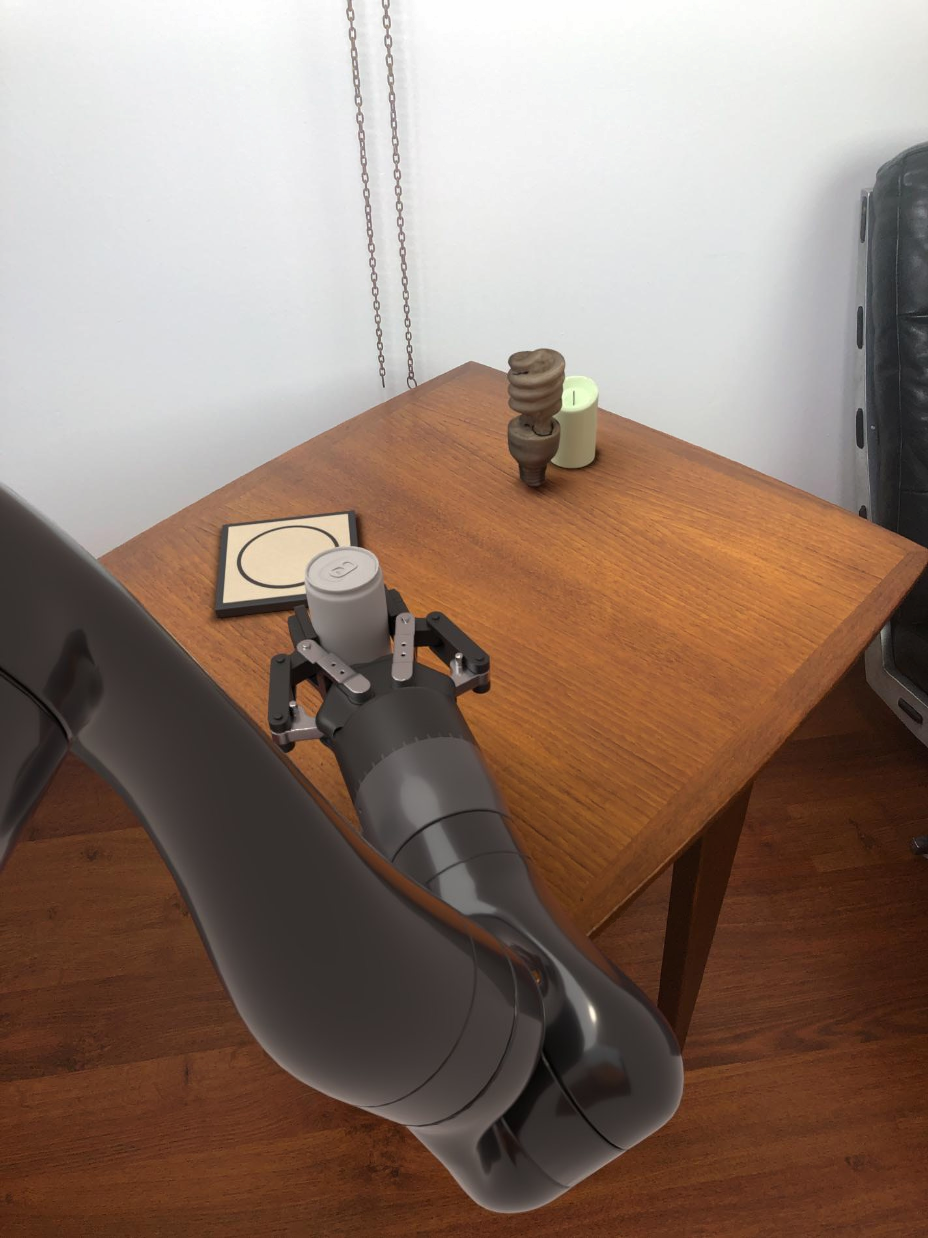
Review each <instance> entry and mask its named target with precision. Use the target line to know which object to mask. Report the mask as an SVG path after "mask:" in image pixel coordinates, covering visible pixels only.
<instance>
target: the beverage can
mask: <svg viewBox="0 0 928 1238" xmlns="http://www.w3.org/2000/svg"><path fill="white" fill-rule="evenodd" d="M384 583H385V581H384V575H383V569H382V567H381V565H380V561H379V559H378V557H377V556H376V555H375V554H374V553H373V552H372V551H370V550H368V549H365V548H363V547H359V546H358V547H354V546H342V547H334V548H331V549H328V550H325V551H323V552H321V553H319V554H317V555H316V556H314V557H313V558H312V559H311V560H310V561H309V562H308V564H307V566H306V568H305V590H306V595H307V600H308V605H309V607H308V610H309V617H310V620H311V622H312V626H313V628H314V630H315V632H316V634H317V638H318V643H319V646H320V647H322V648H323V649H324V650H325V651H326V652H327V653H328V654H330V653H331V652H333V653H334V654H335V655H337V656H338V657H339V658H340V659H341V660H342V661H343V662H345V663H346V664H347V665H348V666H350V665H353V664H358V663H368V662H371V661H373V660H375V659H377V658H379V657H381V656H385V655H388V654H392V653H393V649H392V641H391V640H392V639H391V636H390V632H389V623H388V614H387V605H386V597H385V589H384Z"/></svg>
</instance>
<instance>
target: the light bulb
mask: <svg viewBox="0 0 928 1238" xmlns="http://www.w3.org/2000/svg"><path fill="white" fill-rule="evenodd" d="M507 364H508V366H509V367H510V369H508V372H507V376H506V377H507V381H508V382H509V384H508V386H507V394H508V396H510V397H509V399H508V401H507V402H508V404H507V405H508V407H509V408H510V409H511V410H512V411H513V412H516V413H518V415H516V416H515V417H513V418H512V419H510V421H509V422H508V424H507V434H506V435H507V436H506V437H507V446H508V451H509V454H510V455H511V457H512V458H513V459H514V460H515V462H516V463H517V464H518V472H519V480H521V481H522V482H523V483H524V484H525V485H528V486H531V488H534V487H535V488H536V487H540V486H541V485H543V484H545V482H546V478H547V475H546V474H547V473H546V472H547V469H548V464H549V463H550V462H551V459H552V458H553V457H554V456H555V455H556V453H557V451H558V448H559V442H560V430H561V426H560V423H559V422H558V421H557V420H556V419H555V418H554V417H552V416H554V415H555V414H557V413H558V412H559V411H560V410H561V408H562V394H563V383H564V380H565V378H566V373H565V369H566V359H565V356H564V355H563V354H562V353H561V352H559V351H557V350H555V349H553V348H545V347H543V348H542V347H541V348H536V349H534V350H522V351H517V352H515V353H512V354H511V355H510V356H509V357H508V360H507Z"/></svg>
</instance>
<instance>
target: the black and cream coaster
mask: <svg viewBox="0 0 928 1238" xmlns="http://www.w3.org/2000/svg"><path fill="white" fill-rule="evenodd" d="M219 546H220V547H219V557H218V558H219V559H218V569H217V571H218V572H217V579H216V580H217V581H216V592H215V593H216V594H215V604H214V605H215V607H214V611H215V616H216V618H217V619H221V618H227V617H228V618H229V617H236V616H246V615H255V614H256V615H257V614H263V613H273V612H279V611H280V612H281V611H289V610H290V611H291V610H294V607H297V606H301V605H305V607H306V609H307V608H309V605H308V600H307V595H306V590H305V568H306V566H307V564H308V562H309V561H310V560H311V559H312V558H313V557H314V556H316V555H317V554H319V553H321V552H323V551H325V550H328V549H331V548H334V547H342V546H354V547H359V539H358V527H357V517H356V511H355V510H354V509H353V510H343V511H335V512H325V513H316V514H307V515H306V514H305V515H299V516H289V517H280V518H270V519H263V520H254V521H253V520H252V521H244V522H235V523H226V524H222V525H221V535H220V545H219Z"/></svg>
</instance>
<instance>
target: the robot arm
mask: <svg viewBox="0 0 928 1238" xmlns="http://www.w3.org/2000/svg"><path fill="white" fill-rule="evenodd" d="M384 589H385V597H386V605H387V614H388V623H389V632H390V639H391V640H392V642H393V645H392V646H393V649H392V654H388V655H385V656H381V657H379V658H377V659H375V660H373V661H371V662H368V663H358V664H353V665H350V666H348V665H347V664H346V663H345V662H343V661H342V660H341V659H340V658H339V657H338V656H337V655H335V654H334V653H333V652H331V653H330V654H328V653H327V652H326V651H325V650H324V649H323V648H322V647H320V646H319V643H318V638H317V634H316V632H315V630H314V628H313V626H312V621H311V616H310V614H309V613H308V610H307V608H306V607H305V605H301V606H297V607H294V609H293V610H294V614H292V615H289V616H288V617H287V621H286V623H287V628H288V632H289V636H290V640H291V643H292V647H293V649H294V650H293V651H292V652H291V653H290V654H287V653H278V654H275V655H273V656H272V657H271V659H270V662H269V663H270V665H269V681H268V682H269V683H268V700H267V701H268V703H267V723H268V726H269V730H270V735H271V736H270V735H269V734H268V733H267V732H266V731H265V730H264V729H263V728H262V727H261V725H259V723H258V722H257V721H256V720H255V719H254V718H253V717H252V715H250V714H249V712H247V710H245V709H244V707H242V705H241V704H240V703H238V702H237V701H236V699H234V697H233V696H231V695H230V694H229V692H228V691H226V690H225V689H224V687H222V686H221V685H220V684H219V682H218V681H217V680H216V679H215V678H214V677H213V676H212V675H211V674H210V673H209V672H208V671H207V670H206V668H205V667H204V666H203V665H201V664H200V662H198V660H197V659H196V658H195V657H194V656H193V655H192V654H191V653H190V652H189V651H188V650H187V648H185V646H184V645H183V644H181V642H180V641H179V640H178V639H177V638H176V637H175V636H174V635H173V634H172V633H171V632H170V630H168V629H167V627H165V626H164V625H163V624H162V622H160V621H159V619H158V618H156V617H155V616H154V614H153V613H152V612H151V611H150V610H149V609H148V608H147V607H146V606H145V605H144V604H143V603H142V602H141V601H140V600H139V599H138V597H136V596H135V595H134V594H133V592H132V591H131V590H129V588H127V587H126V586H125V585H124V584H123V583H122V582H121V581H120V580H119V579H118V578H117V577H116V576H115V575H114V574H112V572H111V571H110V570H109V569H107V567H105V566H104V564H103V563H101V562H100V561H99V560H98V559H97V558H96V557H95V556H93V554H91V553H90V552H89V551H88V550H87V549H86V548H85V547H83V546H82V545H81V544H80V543H79V542H78V541H77V540H76V539H74V537H72V536H71V535H70V534H69V533H68V532H66V531H65V530H64V529H63V528H62V527H61V526H60V525H58V524H57V523H56V522H55V520H53V519H52V518H51V517H50V516H48V515H47V514H46V513H45V512H44V511H42V510H40V509H39V508H38V507H36V506H35V505H34V504H32V503H31V502H30V501H29V500H28V499H26V498H25V497H23V496H22V495H21V494H20V493H18V492H17V491H16V490H15V489H13V488H12V487H10V486H9V485H8V484H6V483H4V482H2V481H1V480H0V877H1V876H2V874H3V872H4V870H5V869H6V866H8V863H9V861H10V859H11V858H12V856H13V854H14V852H15V850H16V848H17V846H18V845H19V843H20V841H21V839H22V837H23V836H24V834H25V832H26V830H27V829H28V827H29V825H30V823H31V821H32V820H33V818H34V816H35V815H36V812H37V810H38V809H39V807H40V805H41V803H42V801H43V800H44V798H45V796H46V795H47V793H48V791H49V789H50V787H51V786H52V783H53V782H54V780H55V779H56V776H57V774H58V772H59V771H60V769H61V767H62V765H63V764H64V762H65V760H66V758H67V756H68V751H69V752H71V753H72V754H73V755H75V756H76V757H77V758H78V759H80V760H81V761H82V762H84V764H86V766H88V767H89V768H90V769H91V770H93V772H94V773H95V774H97V776H99V777H100V778H101V779H102V780H103V781H104V782H105V783H106V784H107V785H108V786H109V787H110V789H112V790H113V791H114V792H115V794H116V795H117V796H118V797H119V799H121V800H122V802H123V803H124V804H125V805H126V806H127V808H129V810H130V811H131V813H132V814H133V815H134V817H135V818H136V819H137V821H138V822H139V824H140V825H141V826H142V828H143V829H144V831H145V834H147V836H148V838H149V839H150V841H151V843H152V844H153V846H154V848H155V850H156V851H157V853H158V854H159V857H160V858H161V859H162V862H163V863H164V865H165V867H166V868H167V870H168V872H169V873H170V876H171V878H172V879H173V881H174V884H175V886H176V888H177V890H178V892H179V894H180V896H181V899H182V900H183V902H184V905H185V907H186V909H187V911H188V913H189V915H190V917H191V920H192V922H193V924H194V927H195V929H196V931H197V934H198V936H199V938H200V941H201V943H202V945H203V948H204V950H205V953H206V955H207V957H208V959H209V961H210V964H211V966H212V967H213V969H214V972H215V974H216V976H217V978H218V980H219V982H220V985H221V987H222V989H223V991H224V993H225V995H226V996H227V998H228V1000H229V1002H230V1003H231V1005H232V1007H233V1009H234V1011H235V1012H236V1013H237V1015H238V1017H239V1019H240V1020H241V1022H242V1024H243V1025H244V1027H245V1028H246V1029H247V1031H248V1033H249V1034H250V1035H251V1037H252V1038H253V1039H254V1040H255V1042H256V1043H257V1044H258V1045H259V1046H260V1048H261V1049H262V1050H264V1052H265V1053H266V1054H267V1055H268V1056H269V1057H270V1058H271V1059H272V1060H273V1061H274V1062H275V1063H276V1064H277V1065H278V1066H279V1067H280V1068H282V1069H283V1070H284V1071H286V1072H287V1073H288V1074H289V1075H291V1076H292V1077H293V1078H295V1079H296V1080H297V1081H299V1082H301V1083H303V1084H305V1085H306V1086H308V1087H310V1088H312V1089H313V1090H316V1091H318V1092H320V1093H321V1094H324V1095H325V1096H328V1097H330V1098H333V1099H334V1100H338V1101H340V1102H343V1103H345V1104H348V1105H350V1106H353V1107H355V1108H358V1109H361V1110H363V1111H365V1112H368V1113H371V1114H373V1115H376V1116H377V1117H381V1118H383V1119H386V1120H388V1121H391V1122H394V1123H396V1124H400V1125H402V1126H404V1127H405V1128H406V1129H407V1130H408V1131H409V1132H410V1133H412V1134H413V1136H415V1137H416V1139H417V1140H418V1141H419V1142H420V1143H422V1145H423V1146H424V1147H425V1148H426V1149H427V1150H428V1152H430V1153H431V1154H432V1155H433V1156H434V1157H435V1158H436V1159H437V1160H438V1161H439V1162H440V1163H441V1164H442V1166H444V1167H445V1169H446V1170H447V1171H448V1173H450V1175H451V1176H452V1177H453V1179H454V1180H455V1181H456V1183H457V1184H458V1185H459V1186H460V1188H461V1189H462V1190H463V1191H464V1193H465V1194H466V1195H467V1196H469V1197H470V1198H471V1199H472V1200H473V1202H475V1203H476V1204H477V1205H479V1206H481V1207H482V1208H484V1209H486V1210H488V1211H491V1212H494V1213H500V1214H517V1213H525V1212H529V1211H533V1210H536V1209H539V1208H541V1207H543V1206H545V1205H547V1204H549V1203H551V1202H553V1201H554V1200H556V1199H557V1198H559V1197H560V1196H562V1195H563V1194H565V1193H566V1192H568V1191H569V1190H571V1189H572V1188H574V1187H575V1186H576V1185H577V1184H579V1183H580V1182H582V1181H584V1180H585V1179H586V1178H588V1177H590V1176H591V1175H592V1174H594V1173H595V1172H597V1171H598V1170H600V1169H601V1168H603V1167H604V1166H607V1164H609V1163H611V1162H612V1161H614V1160H615V1159H617V1158H618V1157H620V1156H621V1155H623V1154H624V1153H626V1152H627V1150H630V1149H631V1148H633V1147H635V1146H636V1145H638V1144H639V1143H641V1142H642V1141H644V1140H645V1139H647V1138H648V1137H650V1136H651V1135H652V1134H654V1133H655V1132H657V1131H658V1130H659V1129H661V1128H663V1127H664V1126H665V1125H666V1124H667V1123H669V1121H670V1120H671V1119H672V1118H673V1117H674V1115H675V1114H676V1112H677V1110H678V1109H679V1107H680V1105H681V1101H682V1098H683V1094H684V1087H685V1068H684V1067H685V1066H684V1059H683V1056H682V1051H681V1046H680V1044H679V1041H678V1038H677V1036H676V1034H675V1031H674V1030H673V1028H672V1026H671V1024H670V1022H669V1021H668V1018H666V1016H665V1015H664V1014H663V1012H662V1011H661V1009H660V1008H659V1007H658V1006H657V1005H656V1004H655V1003H654V1002H653V1000H652V999H651V998H650V997H649V996H648V995H647V993H646V992H644V991H643V989H642V988H640V986H638V984H636V983H635V982H634V981H633V980H632V979H631V978H630V977H629V976H628V975H627V974H626V973H625V971H623V970H622V969H621V968H619V966H618V965H617V964H616V963H614V961H612V960H611V958H609V957H608V956H607V955H606V954H605V953H604V952H603V951H602V950H601V949H600V948H599V946H597V945H596V944H595V943H594V941H592V940H591V938H589V936H587V935H586V933H585V932H584V931H583V929H582V928H581V927H580V926H579V925H578V924H577V923H576V922H575V920H574V919H573V918H572V917H571V916H570V915H569V913H568V912H567V911H566V909H565V908H564V906H563V905H562V903H561V902H560V901H559V900H558V898H557V897H556V895H555V894H554V893H553V891H552V890H551V888H550V887H549V885H548V884H547V881H546V879H544V877H543V875H542V873H541V871H540V870H539V868H538V866H537V863H536V861H535V860H534V858H533V856H532V854H531V852H530V850H529V848H528V846H527V844H526V843H525V840H524V838H523V837H522V835H521V833H520V831H519V829H518V827H517V825H516V823H515V821H514V819H513V816H512V813H511V810H510V808H509V804H508V801H507V799H506V796H505V792H504V790H503V789H502V787H501V785H500V783H499V781H498V779H497V777H496V775H495V773H494V770H493V769H492V767H491V765H490V764H489V762H488V760H487V758H486V756H485V754H484V752H483V750H482V749H481V747H480V745H479V743H478V741H477V739H476V738H475V735H474V734H473V732H472V730H471V728H470V726H469V725H468V722H467V720H466V719H465V717H464V715H463V712H462V711H461V709H460V707H459V705H458V697H460V696H462V695H464V694H465V693H467V692H469V691H473V693H474V694H478V695H484V694H486V693H489V691H490V690H491V689H492V685H491V657H490V655H489V654H488V653H487V652H486V650H485V649H483V648H482V647H481V646H480V645H478V643H476V642H475V641H474V640H473V639H472V638H471V637H470V636H469V635H468V634H466V633H465V632H464V631H463V630H462V629H461V628H460V627H459V626H458V625H457V624H455V622H454V621H452V620H451V619H450V617H447V615H446V614H445V613H443V612H441V611H438V610H436V611H435V610H434V611H431V612H429V613H427V615H426V616H425V617H417V616H415V615H414V614H413V613H411V612H410V610H409V609H408V606H407V604H406V603H405V601H404V599H403V597H402V595H401V593H400V591H398V590H396V588H391V589H389V588H388V586H387V585H386V584H385V582H384ZM426 647H427V648H428V649H429V650H430V651H431V652H432V653H433V654H434V655H435V656H436V657H437V658H438V659H439V660H440V661H441V662H442V663H443V664H444V665H445V666H446V667H447V668H448V669H449V671H450V675H448V674H446V673H444V672H442V671H439V670H437V669H435V668H432V667H430V666H428V665H425V664H423V663H420V662H418V655H419V653H418V652H419V651H418V650H419V649H418V648H426ZM305 681H306V682H307V683H308V684H309V685H310V686H312V688H314V689H315V690H316V691H317V692H318V693H319V696H320V698H321V699H322V702H321V704H320V706H319V709H318V710H317V712H316V715H315V716H311V715H308V714H307V713H306V712H307V711H306V709H305V707H304V706H302V705H299V704H298V702H297V693H298V692H297V690H298V689H297V688H298V686H297V685H299V684H301V683H303V682H305ZM312 740H319V741H320V743H321V744H322V745H323V746H325V747H326V748H328V749H329V750H330V751H331V752H332V753H333V755H334V757H335V760H336V762H337V766H338V768H339V771H340V773H341V776H342V779H343V781H344V784H345V787H346V790H347V792H348V795H349V798H350V800H351V803H352V806H353V808H354V811H355V814H356V816H357V819H358V821H359V822H358V823H359V824H358V828H359V830H357V829H356V828H355V827H354V826H353V825H352V824H351V823H350V822H349V821H348V820H347V819H346V818H345V817H344V816H343V815H342V814H341V813H340V812H339V811H338V810H337V808H336V807H334V806H333V805H332V804H331V802H329V800H328V799H327V798H326V797H325V796H324V794H322V793H321V791H320V790H319V789H318V788H317V787H316V786H315V785H314V784H313V782H311V780H310V779H309V778H308V777H307V776H306V775H305V774H304V773H303V771H302V770H301V769H300V768H299V767H298V766H297V765H296V764H295V763H294V762H293V761H292V759H291V758H290V757H289V756H288V755H287V754H288V753H291V752H292V751H293V750H294V749H295V748H296V742H304V741H312ZM359 831H360V832H359ZM533 972H536V974H537V976H538V980H539V981H537V979H536V977H535V975H534V973H533Z"/></svg>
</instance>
